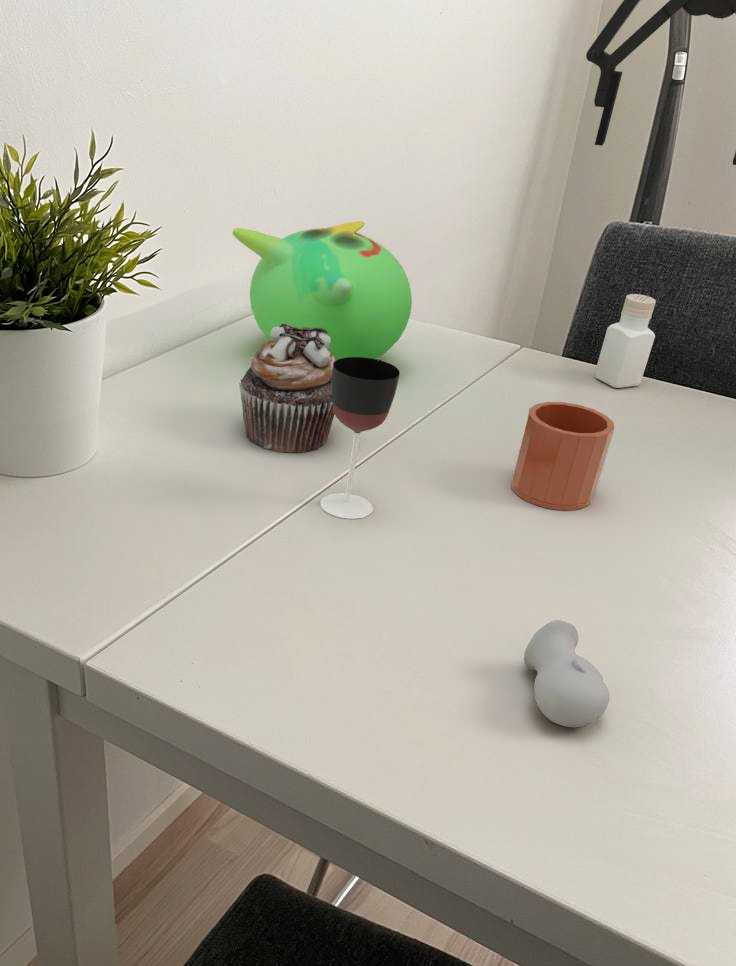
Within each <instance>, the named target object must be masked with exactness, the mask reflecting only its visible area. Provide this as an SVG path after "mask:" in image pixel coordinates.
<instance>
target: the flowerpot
mask: <svg viewBox="0 0 736 966" xmlns="http://www.w3.org/2000/svg"><path fill="white" fill-rule="evenodd" d="M614 431H615V422H614V421H613V420H612V419H611V418H610V417H609V416H608V415H606V414H604V413H603V412H600V411H598V410H596V409H594V408H590V407H587V406H585V405H581V404H576V403H571V402H564V401H545V402H540V403H536V404H533V405H532V406H531V407H529V409H528V411H527V415H526V420H525V423H524V428H523V433H522V436H521V440H520V445H519V449H518V453H517V455H516V456H517V457H516V460H515V465H514V468H513V472H512V478H511V481H510V487H511V489H512V491H513V493H515V494H516V495H517V496H518V497H519V498H521V499H522V500H524V501H526V502H528V503H530V504H533V505H535V506H538V507H542V508H545V509H550V510H556V511H577V510H580V509H584V508H587V507H588V506H589V505H590V504H591V503H592V501H593V498H594V497H595V494H596V491H597V487H598V484H599V481H600V477H601V474H602V471H603V467H604V464H605V461H606V458H607V454H608V452H609V449H610V445H611V442H612V438H613V435H614Z"/></svg>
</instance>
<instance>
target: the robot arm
mask: <svg viewBox="0 0 736 966" xmlns="http://www.w3.org/2000/svg"><path fill="white" fill-rule="evenodd" d="M640 2H641V0H623V1H622V2H621V3H620V5H619V6H618V8H617V9H616V11H614V13H613V15H612V16H611V17H610V19H609V20H608V22H607V23H606V24H605V26H604V28H603V29H602V30H601V31H600V33H599V34H598V36H597V37H596V39H595V40H594V41H593V43H592V44H591V46H590V47H589V48H588V50H587V52H586V55H585V58H586V60H587V61H588V62H591V63H592V64H594V65H596V66H597V67H598V68H599V70H600V75H599V79H598V84H597V88H596V91H595V95H594V100H593V103H594V107H597V108H603V109H602V114H601V117H600V121H599V126H598V129H597V134H596V137H595V141H594V146H599V147H601V146H603V145H604V144H605V142H606V138H607V134H608V130H609V127H610V123H611V119H612V116H613V111H614V107H615V103H616V99H617V96H618V91H619V87H620V84H621V79H622V76H623V71H619V70H618V71H617V70H616V68H617V67H618V65H620V64H621V63H622V62H623V61H624V60H625V59H627V58H628V57H629V56H630V55H631V54H632V53H633V52H634V51H636V49H638V48H639V46H641V45H642V44H643V43H644V42H646V40H647V39H649V38H650V37H651V36H652V35H653V34H654V33H655V32H656V31H658V29H660V28H661V27H662V26H663V25H664V24H665V23H666V22H667V21H668V20H670V19H671V18H672V17H673V16H674V15H675V14H677V12H678V11H679V10H680V9H683V11H684V12H685V13H686V14H687V15H689V16H693V17H701V16H706V15H708V16H710V17H712V18H714V19H722V20H723V19H726V18H729V17H732V16H733V15H734V14H735V15H736V0H668V1H667V2H666V3H665V4H664V5H663V6H662V7H661V8H660V9H658V10H657V11H656V12H655V13H654V14H653V15H652V16H651V17H650V18H649V19H648V20H647V21H646V22H644V23H643V24H642V25H641V26H640V27H639V28H638V29H637V30H635V31H634V32H633V33H632V34H631V35H630V36H629V37H627V39H626V40H625V41H624V42H623V43H622V44H620V45H619V46H618V47H617V48H616V49H615V50H614V51H613V52H612V53H609V52H607V51H606V49H607V48H608V46H609V45H610V44H611V42H612V41H613V39H614V38H615V36H617V34H618V32H619V31H620V30H621V28H622V27H623V26H624V25H625V23H626V22H627V20H628V19H629V17H630V16H631V14H632V13H633V11H634V10H636V7H637V6H638V5H639V3H640ZM732 166H736V151H735V153H734V155H733V159H732Z"/></svg>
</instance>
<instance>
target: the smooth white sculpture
mask: <svg viewBox="0 0 736 966" xmlns="http://www.w3.org/2000/svg"><path fill="white" fill-rule="evenodd" d="M578 643H579V632H578V630H577V628H576V627H575V625H573V624H572V623H570V622H567V621H564V620H561V619H555V620H552V621H550V622H547V623H546V624H545V625H543V626H542V627H540V629H538V630H537V631H536V632H535V633H534V634H533V636H532V637H531V639H530V640H529V642H528V644H527V645H526V648H525V651H524V654H523V655H524V656H523V663H524V665H525V667H526V668H527V669H529V670H531V671H536V673H537V674H536V676H535V680H534V686H533V690H534V691H533V692H534V698H535V702H536V704H537V707H538V708H539V710H540V712H541V713H542V714H543V715H544V716H545V717H546V718H547V719H548V720H550V721H551V722H553V723H554V724H557V725H558V726H562V727H566V728H583V727H587V726H589V725H591V724H593V723H594V722H596V721H597V720H598V719H599V718H600V717H601V716H602V715H604V713H605V712H606V710H607V708H608V706H609V702H610V691H609V688H608V686H607V684H606V683H605V682H604V678H603V675H602V673H601V672H600V671H599V669H598V668H596V667H595V666H594V664H592V663H591V662H590V661H588V660H587V659H586V658H584V657H582V656H580V655H578V654H576V648H577V646H578Z"/></svg>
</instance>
